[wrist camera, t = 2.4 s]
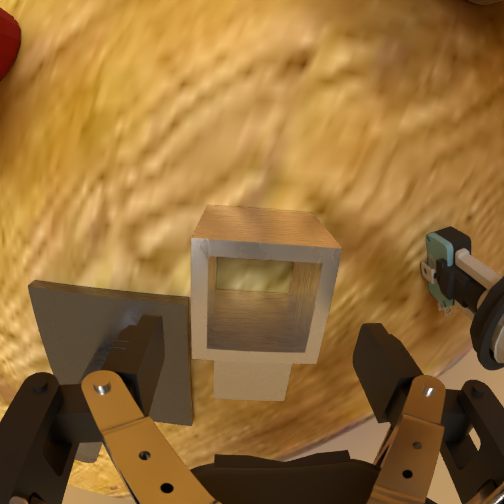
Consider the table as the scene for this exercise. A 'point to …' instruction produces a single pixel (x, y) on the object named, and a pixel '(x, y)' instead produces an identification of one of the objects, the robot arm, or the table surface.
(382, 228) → the table surface
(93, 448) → the gray square plate
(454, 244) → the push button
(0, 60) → the plastic cup
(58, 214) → the table surface
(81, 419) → the robot arm
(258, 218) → the grey hollow block
